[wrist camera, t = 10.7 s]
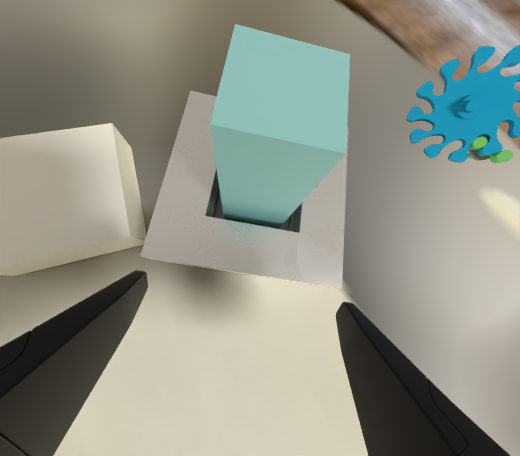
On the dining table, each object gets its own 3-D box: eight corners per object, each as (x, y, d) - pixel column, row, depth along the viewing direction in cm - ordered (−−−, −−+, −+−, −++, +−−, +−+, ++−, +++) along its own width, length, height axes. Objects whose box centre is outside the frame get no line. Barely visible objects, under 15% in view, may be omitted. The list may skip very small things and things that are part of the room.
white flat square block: (148, 243, 16) (130, 235, 13) (17, 275, 15) (-36, 274, 12) (131, 147, 18) (112, 123, 15) (12, 166, 16) (-35, 142, 14)
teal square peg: (279, 227, 18) (346, 153, 7) (223, 217, 18) (209, 124, 7) (285, 177, 19) (349, 54, 9) (233, 167, 19) (235, 24, 8)
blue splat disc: (391, 95, 22) (528, 7, 16) (388, 111, 27) (492, 48, 21) (436, 188, 21) (591, 129, 16) (425, 187, 26) (540, 142, 21)
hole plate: (323, 286, 17) (343, 288, 14) (156, 260, 16) (138, 256, 13) (332, 148, 21) (349, 125, 18) (196, 118, 20) (190, 88, 17)
